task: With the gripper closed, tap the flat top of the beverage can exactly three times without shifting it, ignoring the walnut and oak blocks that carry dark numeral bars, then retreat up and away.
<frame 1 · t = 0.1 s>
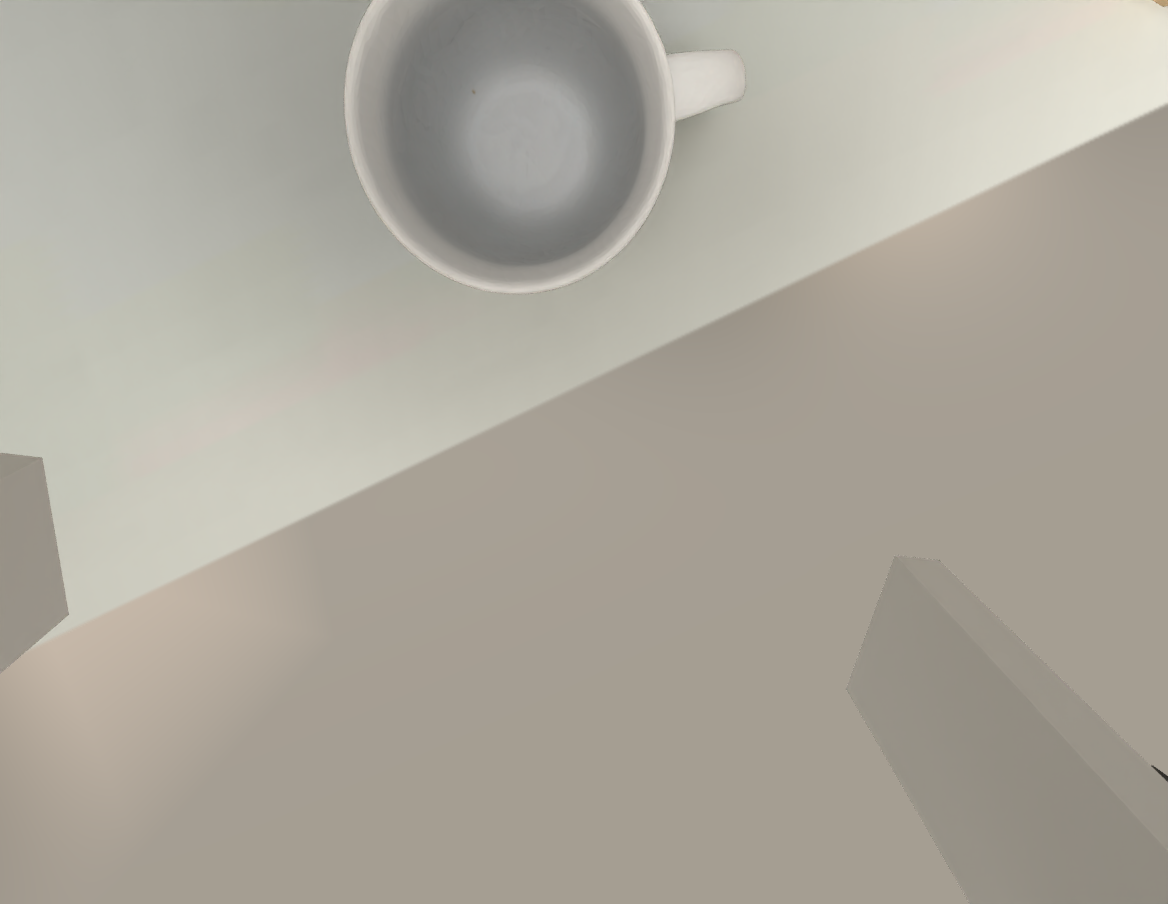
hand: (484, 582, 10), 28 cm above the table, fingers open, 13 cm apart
mug: (549, 144, 34), on the table
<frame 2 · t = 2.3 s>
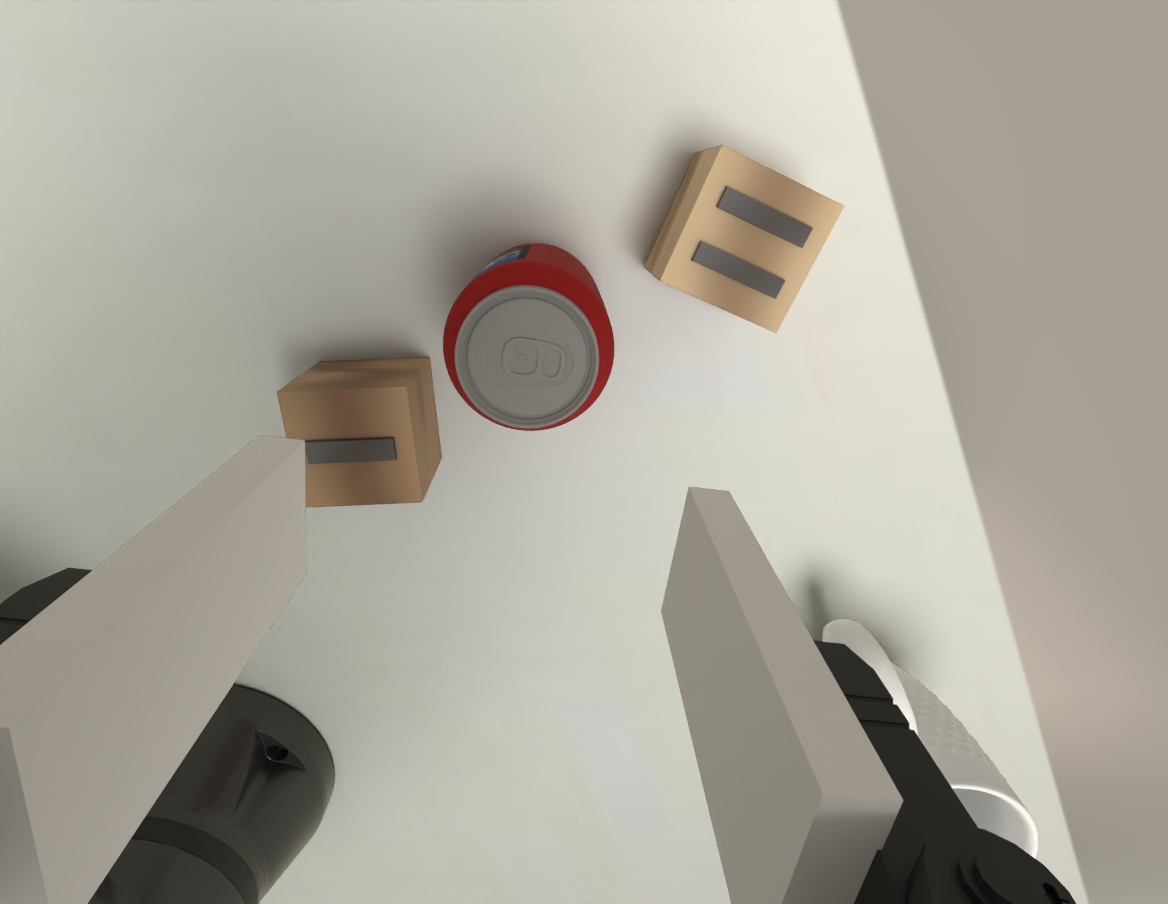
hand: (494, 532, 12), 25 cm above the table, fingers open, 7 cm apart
mug: (830, 671, 45), on the table
walnut digit block: (383, 410, 37), on the table
beverage can: (537, 306, 35), on the table
oak digit block: (719, 235, 34), on the table
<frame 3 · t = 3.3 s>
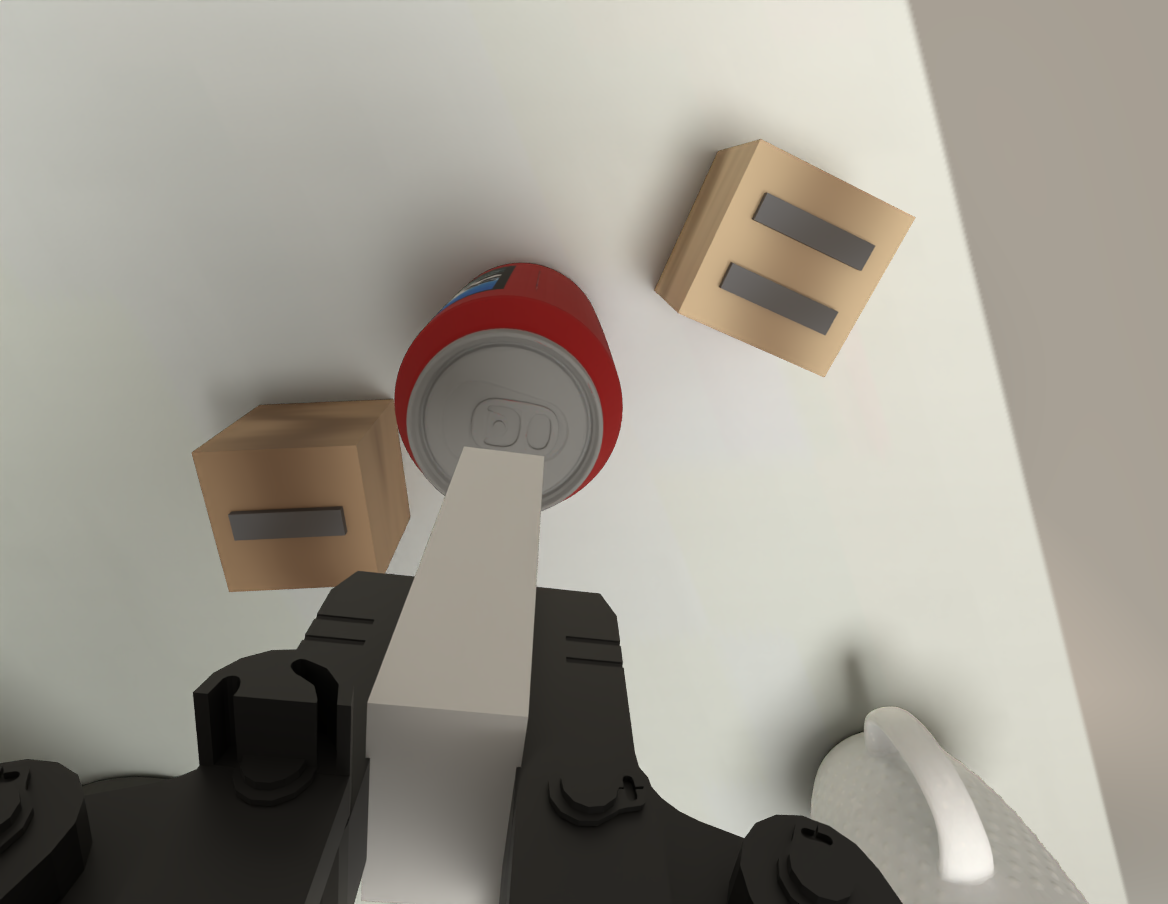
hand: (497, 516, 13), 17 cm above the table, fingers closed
mug: (868, 754, 39), on the table
walnut digit block: (338, 462, 31), on the table
beverage can: (524, 338, 29), on the table
oak digit block: (746, 252, 28), on the table
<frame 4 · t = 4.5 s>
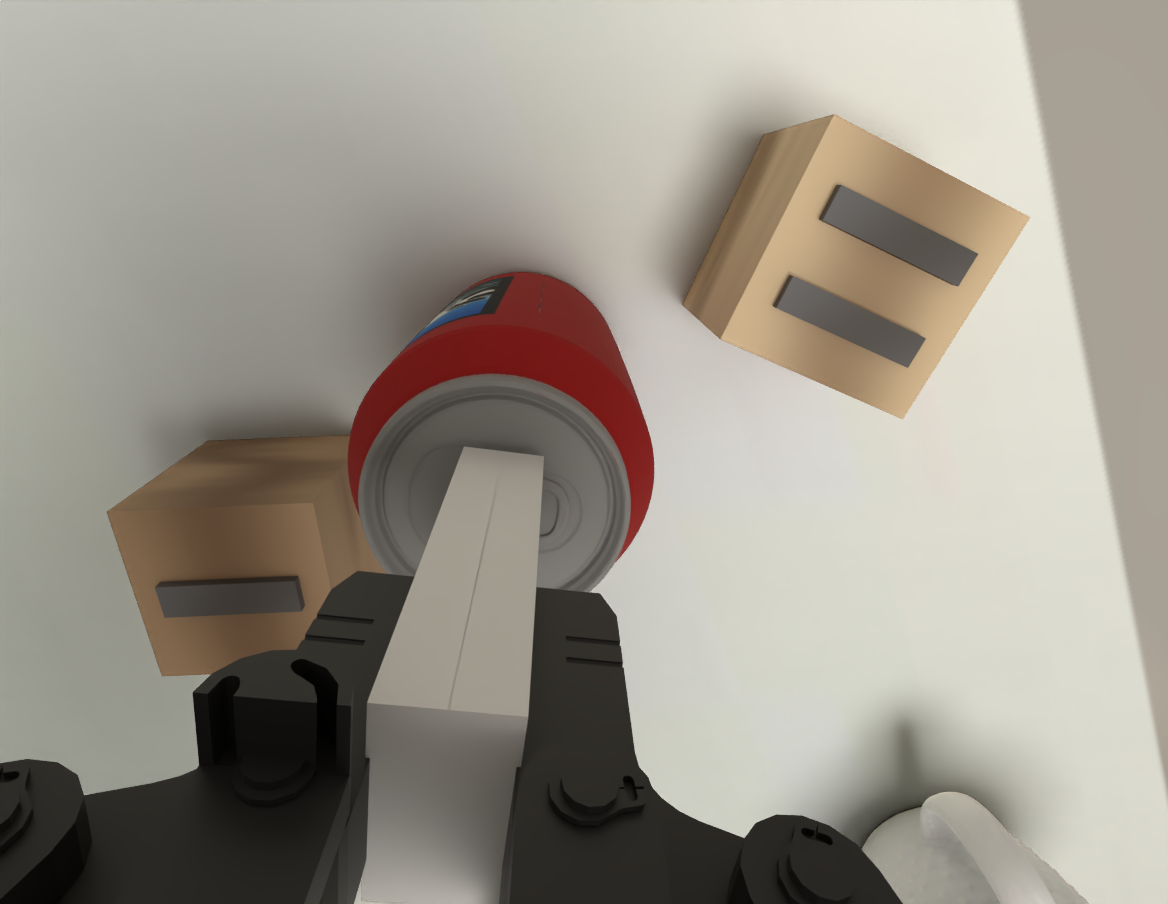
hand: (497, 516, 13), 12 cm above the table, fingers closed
mug: (918, 831, 34), on the table
walnut digit block: (303, 507, 26), on the table
beverage can: (525, 362, 24), on the table, touching gripper
oak digit block: (795, 258, 23), on the table
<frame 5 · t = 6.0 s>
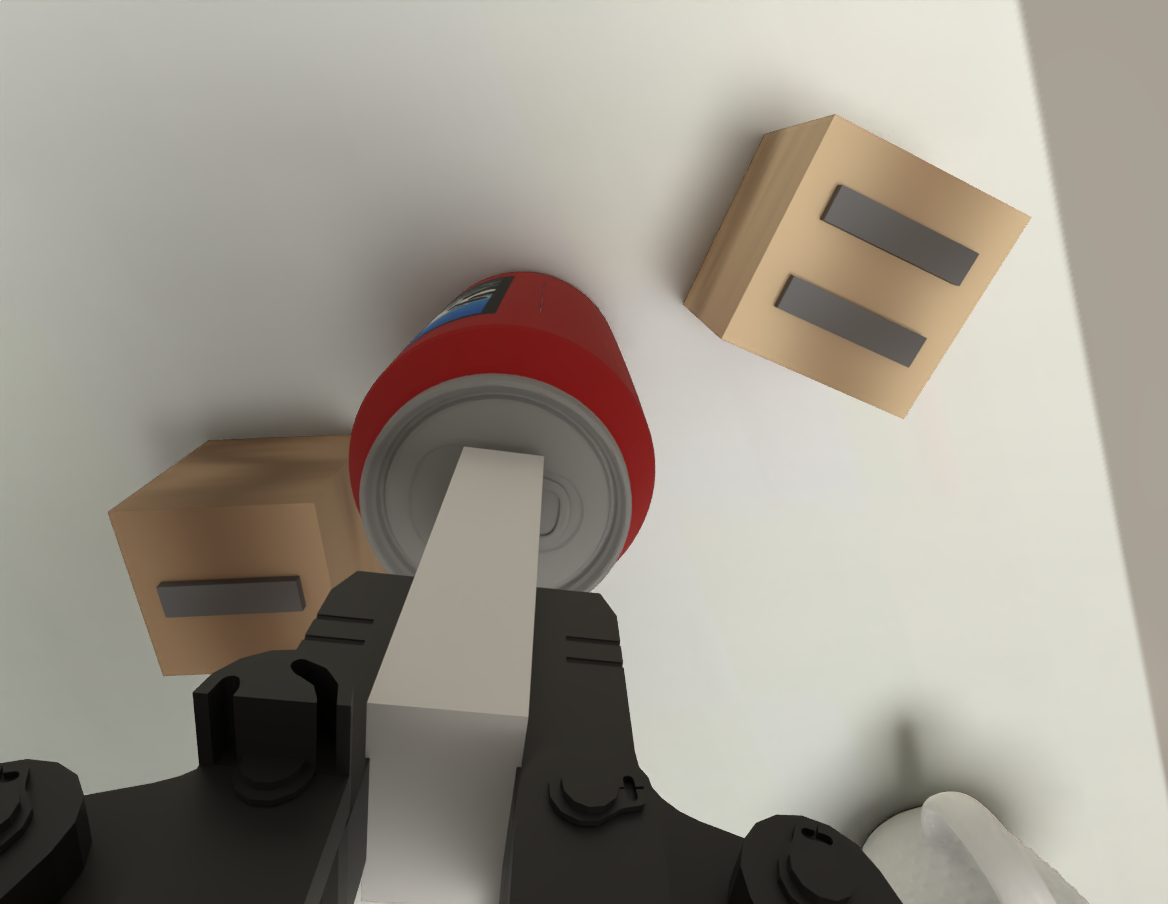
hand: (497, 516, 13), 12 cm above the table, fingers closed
mug: (918, 831, 34), on the table
walnut digit block: (304, 507, 26), on the table
beverage can: (526, 361, 24), on the table, touching gripper
oak digit block: (796, 258, 23), on the table
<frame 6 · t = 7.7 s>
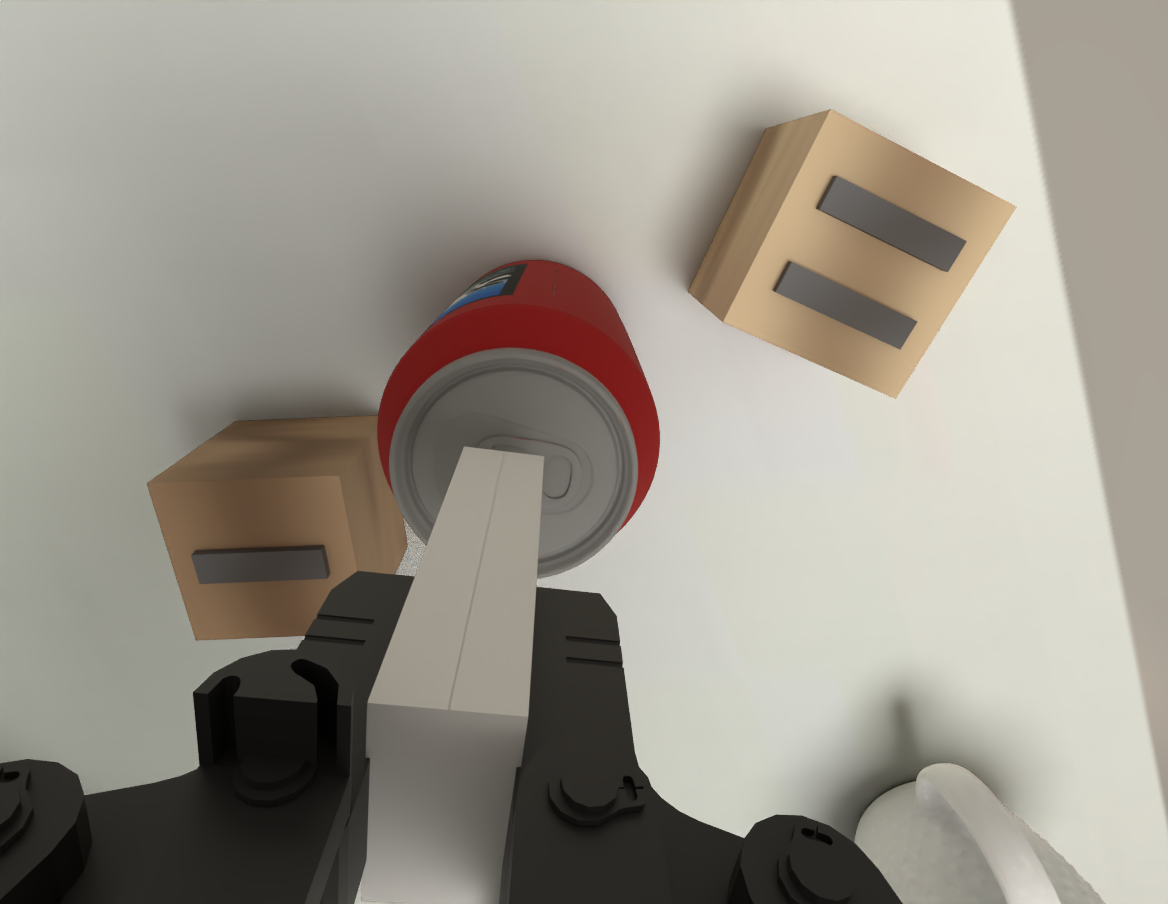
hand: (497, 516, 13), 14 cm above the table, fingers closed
mug: (914, 805, 35), on the table
walnut digit block: (325, 485, 27), on the table
beverage can: (537, 346, 25), on the table
oak digit block: (796, 247, 24), on the table
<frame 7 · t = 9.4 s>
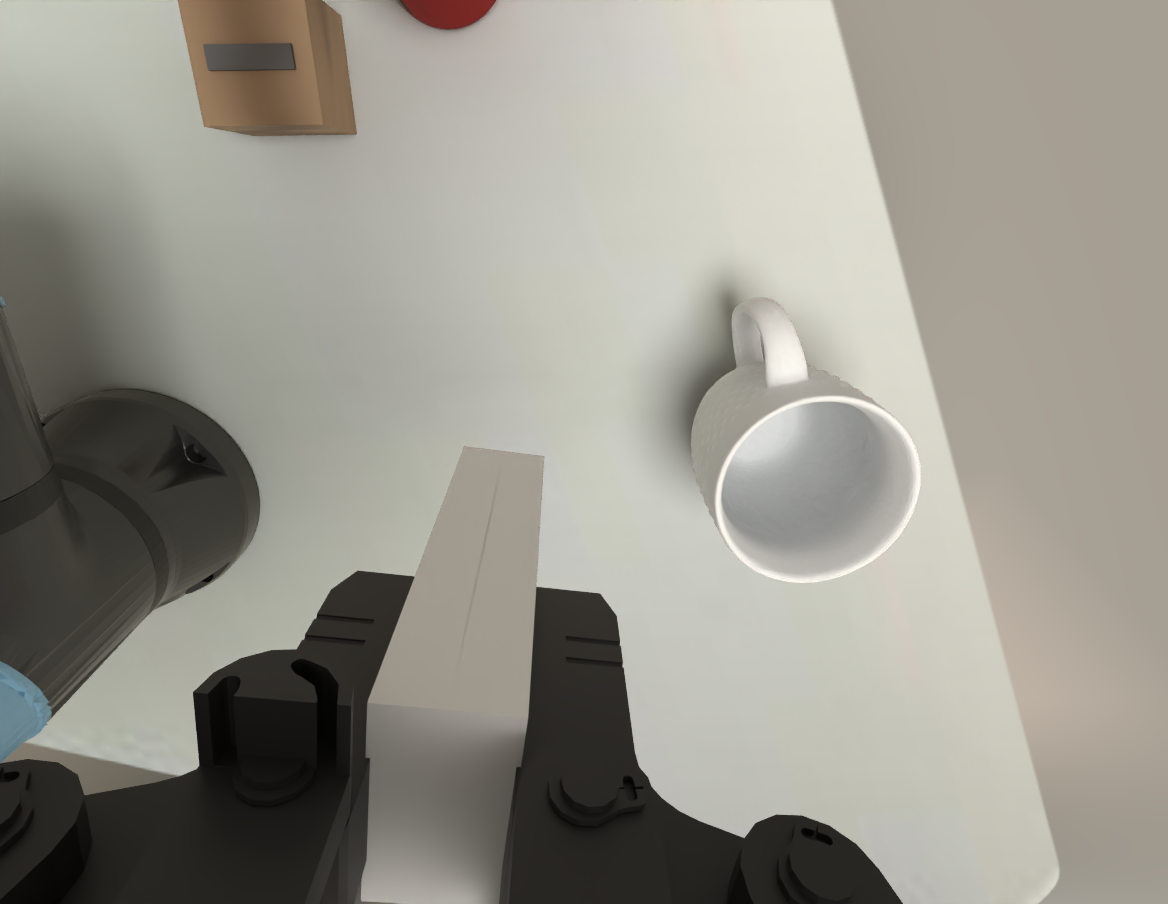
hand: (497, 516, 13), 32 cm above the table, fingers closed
mug: (748, 400, 46), on the table
walnut digit block: (297, 77, 38), on the table
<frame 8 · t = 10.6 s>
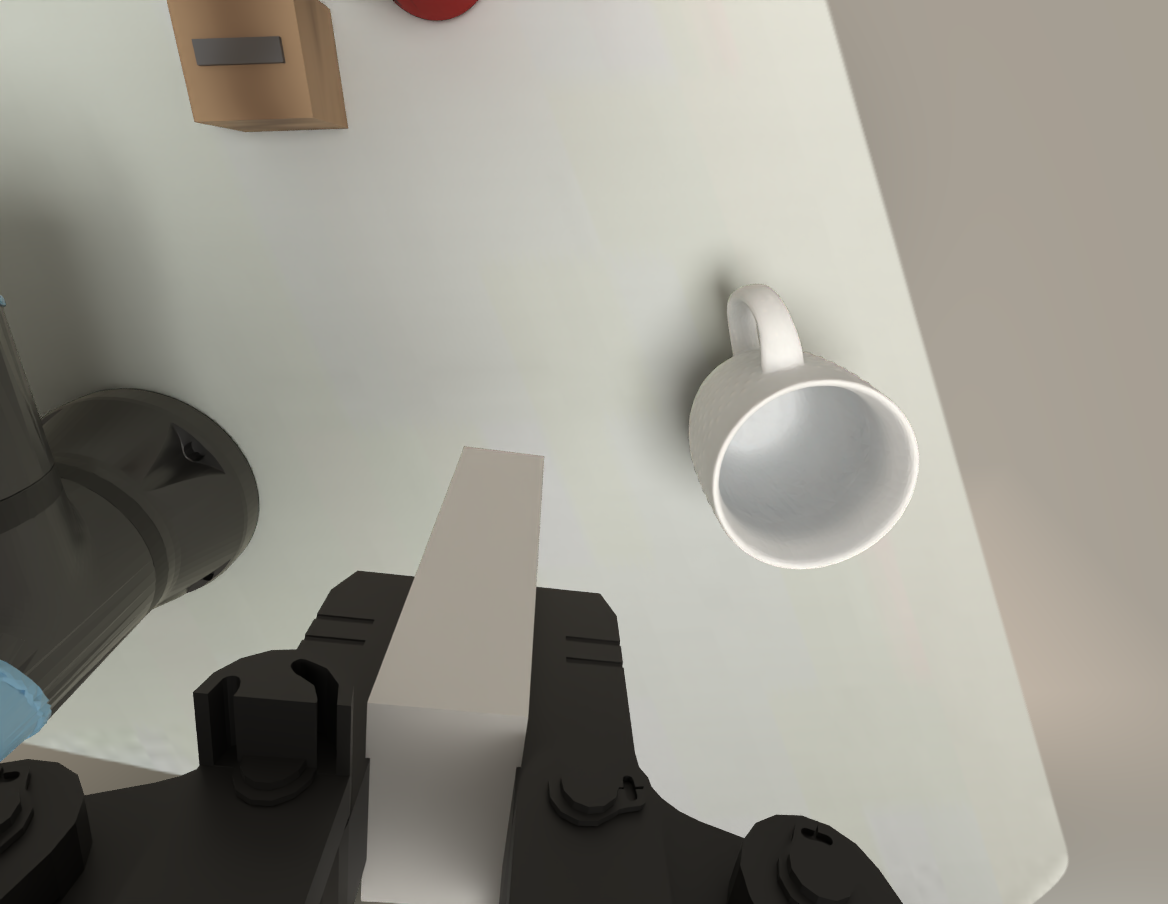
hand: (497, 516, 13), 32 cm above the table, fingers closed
mug: (745, 389, 46), on the table
walnut digit block: (287, 72, 38), on the table
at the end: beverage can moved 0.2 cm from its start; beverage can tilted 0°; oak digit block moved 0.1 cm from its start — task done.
